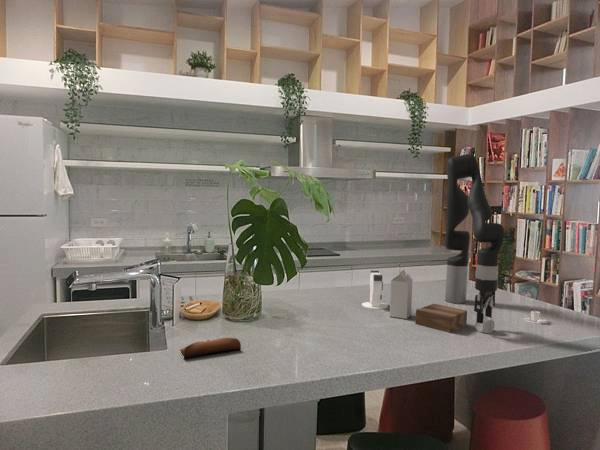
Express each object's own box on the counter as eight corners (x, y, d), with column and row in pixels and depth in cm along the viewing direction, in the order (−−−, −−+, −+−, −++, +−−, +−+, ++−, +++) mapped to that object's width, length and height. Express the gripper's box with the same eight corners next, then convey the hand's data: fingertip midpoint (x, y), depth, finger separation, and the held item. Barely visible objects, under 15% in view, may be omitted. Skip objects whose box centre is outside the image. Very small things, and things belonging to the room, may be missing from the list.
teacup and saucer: (550, 326, 175) (551, 315, 175) (528, 324, 177) (529, 314, 177) (542, 319, 184) (543, 310, 184) (522, 318, 185) (522, 308, 185)
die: (482, 333, 163) (483, 320, 162) (474, 329, 168) (474, 316, 167) (494, 332, 164) (495, 319, 164) (485, 328, 169) (486, 315, 169)
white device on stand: (390, 309, 192) (391, 275, 191) (363, 309, 193) (364, 274, 191) (385, 302, 204) (386, 270, 203) (360, 302, 205) (361, 269, 203)
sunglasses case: (231, 341, 148) (235, 327, 145) (238, 358, 143) (242, 344, 140) (177, 350, 140) (179, 336, 136) (182, 368, 135) (184, 354, 131)
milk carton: (389, 316, 182) (391, 270, 180) (394, 312, 188) (396, 268, 187) (406, 319, 179) (408, 272, 177) (411, 315, 185) (413, 269, 183)
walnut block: (433, 318, 183) (433, 303, 182) (466, 325, 173) (467, 310, 173) (415, 324, 173) (416, 309, 172) (449, 333, 163) (450, 317, 163)
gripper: (483, 273, 172) (480, 315, 173) (468, 278, 161) (466, 322, 163) (503, 276, 167) (501, 319, 168) (490, 281, 156) (487, 326, 158)
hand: (484, 320), depth 165 cm, fingers open, 8 cm apart
